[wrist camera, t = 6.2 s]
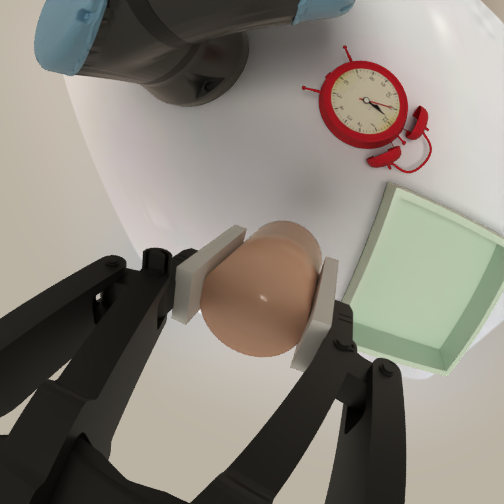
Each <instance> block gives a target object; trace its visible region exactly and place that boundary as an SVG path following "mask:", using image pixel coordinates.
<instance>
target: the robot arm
mask: <svg viewBox="0 0 504 504" xmlns="http://www.w3.org/2000/svg"><path fill="white" fill-rule="evenodd" d="M354 2H355V0H46V2H45V4H44V7H43V9H42V11H41V15H40V17H39V20H38V24H37V28H36V33H35V41H34V51H35V56H36V59H37V61H38V62H39V64H40V65H41V67H42V68H43V69H45V70H48V71H52V72H57V73H61V74H65V75H67V76H74V75H81V76H91V77H99V78H106V79H113V80H120V81H126V82H131V83H137V84H141V85H142V86H143V87H144V88H145V89H147V90H148V91H149V92H150V93H151V94H153V95H154V96H155V97H156V98H158V99H159V100H161V101H163V102H166V103H169V104H173V105H179V106H197V105H201V104H205V103H207V102H210V101H212V100H214V99H216V98H217V97H219V96H220V95H222V94H223V93H225V92H226V91H227V90H228V89H229V88H230V87H231V86H232V85H233V84H234V83H235V82H236V80H237V79H238V78H239V76H240V74H241V73H242V71H243V69H244V67H245V64H246V61H247V57H248V50H249V44H248V38H247V35H246V32H245V31H247V30H253V29H258V28H264V27H270V26H276V25H283V24H292V25H297V24H299V23H300V22H303V21H309V20H316V19H325V18H334V17H339V16H342V15H344V14H345V13H347V12H348V11H349V10H350V9H351V8H352V6H353V4H354ZM245 233H246V228H243V227H240V226H237V225H234V226H233V227H231V228H230V229H228V230H227V231H226V232H224V233H223V234H221V235H220V236H218V237H217V238H216V239H214V240H213V241H212V242H210V243H209V244H207V245H206V246H205V247H203V248H202V249H200V250H199V251H198V250H195V249H192V248H190V249H186V250H183V251H181V252H180V253H178V255H175V256H174V257H173V258H172V254H171V253H170V252H169V251H167V250H165V249H162V248H149V249H146V250H144V251H143V261H142V262H143V263H142V269H141V270H140V271H137V270H132V269H128V268H126V260H125V259H123V258H122V257H120V256H116V255H110V256H105V257H102V258H101V259H99V260H97V261H95V262H93V263H91V264H90V265H88V266H86V267H84V268H82V269H81V270H79V271H78V272H76V273H74V274H72V275H70V276H68V277H67V278H65V279H63V280H62V281H60V282H58V283H57V284H55V285H53V286H51V287H50V288H48V289H46V290H45V291H43V292H42V293H40V294H38V295H37V296H35V297H33V298H32V299H30V300H29V301H27V302H25V303H24V304H22V305H21V306H19V307H17V308H16V309H15V310H13V311H11V312H10V313H8V314H7V315H5V316H4V317H2V318H1V319H0V417H2V416H4V415H6V414H7V413H9V412H10V411H12V410H13V409H15V408H16V407H17V406H18V405H19V404H21V403H22V402H23V401H24V400H25V399H26V398H27V397H28V396H30V395H31V394H32V393H33V392H34V391H35V390H36V389H37V388H38V389H37V390H36V392H35V394H34V395H33V397H32V398H31V399H30V401H29V403H28V404H27V406H26V407H25V409H24V410H23V412H22V413H21V415H20V417H19V418H18V420H17V422H16V423H15V425H14V426H13V428H12V430H11V431H10V433H9V435H0V504H272V503H273V500H274V498H275V496H276V495H277V493H278V492H279V491H280V489H281V488H282V486H283V485H284V484H285V482H286V481H287V479H288V478H289V476H290V475H291V473H292V472H293V470H294V469H295V467H296V465H297V464H298V463H299V461H300V459H301V458H302V456H303V455H304V453H305V451H306V450H307V448H308V446H309V445H310V443H311V441H312V440H313V438H314V436H315V435H316V433H317V431H318V429H319V427H320V426H321V424H322V422H323V420H324V419H325V417H326V415H327V413H328V411H329V409H330V407H331V405H332V403H333V401H334V400H335V399H337V400H339V401H340V402H342V403H344V404H343V410H342V418H341V425H340V431H339V437H338V443H337V449H336V454H335V460H334V464H333V470H332V474H331V479H330V483H329V488H328V492H327V496H326V500H325V504H404V503H405V487H406V428H405V409H404V397H403V386H402V377H401V372H400V369H399V367H398V366H397V365H396V364H395V363H394V362H392V361H391V360H388V359H386V358H377V359H376V360H374V361H373V363H372V362H370V361H368V360H366V359H365V358H363V357H362V356H360V355H359V354H358V353H357V345H356V343H355V342H354V341H353V310H352V308H351V307H350V305H348V304H345V303H343V302H340V301H337V300H335V292H336V282H337V271H338V260H336V259H333V258H330V257H327V256H326V258H325V261H324V264H323V266H322V269H321V272H320V274H319V278H318V282H317V286H316V291H315V295H314V299H313V303H312V307H311V311H310V315H309V319H308V323H307V326H306V328H305V330H304V332H303V335H302V337H301V339H300V341H299V342H298V344H297V347H296V350H295V354H294V357H293V360H292V363H291V368H294V369H296V370H300V371H302V372H304V373H303V375H302V376H301V378H300V379H299V381H298V382H297V383H296V385H295V386H294V388H293V389H292V390H291V391H290V393H289V394H288V396H287V397H286V398H285V400H284V401H283V402H282V404H281V405H280V406H279V408H278V409H277V410H276V411H275V413H274V414H273V415H272V417H271V418H270V419H269V420H268V422H267V423H266V424H265V425H264V427H263V428H262V429H261V430H260V432H259V433H258V434H257V435H256V436H255V437H254V439H253V440H252V441H251V442H250V443H249V445H248V446H247V447H246V448H245V449H244V451H243V452H242V453H241V454H240V455H239V456H238V457H237V458H236V459H235V461H234V462H233V463H232V464H231V465H230V466H229V467H228V468H227V469H226V470H225V471H224V472H222V473H221V474H220V475H218V476H217V477H216V478H215V480H213V481H212V482H211V483H210V484H209V485H208V486H207V487H206V488H205V489H204V490H203V491H202V492H201V493H200V494H199V495H198V496H197V497H196V498H195V499H194V500H193V501H192V502H191V503H188V502H186V501H183V500H181V499H179V498H177V497H175V496H173V495H171V494H169V493H167V492H164V491H160V490H157V489H153V488H150V487H147V486H144V485H140V484H137V483H134V482H132V481H129V480H127V479H126V478H125V477H124V476H123V475H122V474H121V473H120V472H119V471H118V470H117V469H116V468H115V467H114V466H113V465H112V464H111V463H110V462H109V461H108V459H109V456H110V451H111V441H112V438H113V435H114V433H115V430H116V428H117V426H118V424H119V421H120V419H121V417H122V414H123V412H124V410H125V408H126V405H127V403H128V401H129V399H130V397H131V394H132V392H133V390H134V388H135V385H136V383H137V381H138V379H139V377H140V375H141V373H142V371H143V369H144V366H145V364H146V362H147V360H148V358H149V356H150V354H151V352H152V349H153V348H154V346H155V344H156V341H157V339H158V337H159V335H160V333H161V331H162V329H163V327H164V325H165V323H166V320H167V313H168V312H169V311H170V310H171V309H172V318H173V319H175V320H177V321H179V322H181V323H183V324H185V325H186V324H187V323H188V322H189V321H190V320H191V319H192V317H193V316H194V315H195V314H196V313H197V312H198V311H199V310H200V309H201V308H200V298H201V292H202V287H203V282H204V281H205V279H206V277H207V276H208V275H209V274H210V273H211V271H213V270H214V269H215V268H216V267H217V266H218V265H219V264H220V263H221V262H223V261H224V260H225V259H226V258H227V257H228V256H229V255H230V254H231V253H233V252H234V251H235V250H236V249H237V248H238V247H239V246H240V245H241V244H243V242H244V238H245ZM99 293H100V297H101V298H100V299H98V300H96V295H97V294H99ZM70 359H71V361H70V362H69V364H68V365H67V367H66V368H65V370H64V371H63V373H62V374H61V376H60V377H59V378H58V379H57V380H55V381H53V380H49V378H50V377H51V376H52V375H53V374H54V373H55V372H56V371H58V370H59V369H60V368H61V367H62V366H63V365H65V364H66V363H67V362H68V361H69V360H70ZM47 379H48V380H47Z"/></svg>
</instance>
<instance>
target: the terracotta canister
mask: <svg viewBox="0 0 504 504" xmlns="http://www.w3.org/2000/svg"><path fill="white" fill-rule="evenodd" d="M321 264H322V254H321V249H320V246H319V244H318V242H317V240H316V239H315V237H314V236H313V235H312V234H311V233H310V232H309V231H308V230H307V229H306V228H304V227H303V226H301V225H299V224H296V223H294V222H290V221H274V222H271V223H268V224H266V225H264V226H262V227H261V228H260V229H258V230H257V231H256V232H255V233H254V234H253V235H252V236H250V237H249V238H248V239H247V240H246V241H245V242H244V243H243V244H241V245H240V246H239V247H238V248H237V249H236V250H235V251H234V252H233V253H231V254H230V255H229V256H228V257H227V258H226V259H225V260H224V261H223V262H221V263H220V264H219V265H218V266H217V267H216V268H215V269H214V270H213V271H211V273H210V274H209V275H208V276H207V277H206V279H205V281H204V282H203V287H202V292H201V298H200V308H201V312H202V315H203V318H204V320H205V322H206V324H207V326H208V327H209V329H210V330H211V331H212V333H213V334H214V335H215V336H216V337H217V338H218V339H219V340H220V341H221V342H222V343H224V344H225V345H226V346H228V347H230V348H231V349H233V350H235V351H237V352H240V353H242V354H245V355H249V356H255V357H272V356H276V355H280V354H283V353H285V352H287V351H289V350H290V349H292V348H293V347H294V346H295V345H296V344H298V342H299V341H300V339H301V337H302V335H303V332H304V330H305V328H306V326H307V323H308V319H309V315H310V311H311V307H312V303H313V299H314V295H315V291H316V286H317V282H318V278H319V274H320V270H321Z"/></svg>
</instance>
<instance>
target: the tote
mask: <svg viewBox="0 0 504 504" xmlns="http://www.w3.org/2000/svg"><path fill="white" fill-rule="evenodd" d="M503 290H504V237H503V236H501V235H499V234H498V233H496V232H494V231H492V230H491V229H489V228H487V227H485V226H483V225H481V224H480V223H478V222H476V221H474V220H472V219H470V218H468V217H466V216H464V215H462V214H460V213H458V212H456V211H454V210H452V209H450V208H448V207H446V206H444V205H442V204H440V203H438V202H435V201H433V200H431V199H429V198H427V197H424V196H422V195H420V194H417V193H415V192H413V191H410V190H408V189H406V188H403V187H401V186H398V185H396V184H393V183H391V182H388V183H387V186H386V189H385V192H384V195H383V198H382V201H381V204H380V207H379V210H378V213H377V216H376V218H375V221H374V224H373V227H372V229H371V232H370V235H369V237H368V240H367V242H366V245H365V248H364V250H363V253H362V255H361V258H360V260H359V262H358V265H357V267H356V270H355V272H354V274H353V277H352V279H351V281H350V284H349V286H348V288H347V291H346V293H345V295H344V297H343V299H342V302H343V303H345V304H348V305H350V307H351V308H352V310H353V341H354V342H355V343H356V345H357V351H359V352H362V353H366V354H369V355H372V356H375V357H379V358H386V359H388V360H391V361H392V362H395V363H399V364H402V365H406V366H409V367H413V368H417V369H420V370H424V371H428V372H432V373H435V374H439V375H443V376H448V375H449V373H450V372H451V371H452V369H453V368H454V367H455V366H456V364H457V363H458V362H459V360H460V359H461V358H462V356H463V355H464V354H465V352H466V351H467V349H468V348H469V346H470V345H471V344H472V342H473V341H474V339H475V338H476V336H477V335H478V333H479V332H480V330H481V328H482V327H483V325H484V324H485V322H486V320H487V319H488V317H489V315H490V314H491V312H492V310H493V308H494V307H495V305H496V303H497V301H498V300H499V298H500V296H501V294H502V292H503Z"/></svg>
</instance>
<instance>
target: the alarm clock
mask: <svg viewBox="0 0 504 504" xmlns="http://www.w3.org/2000/svg"><path fill="white" fill-rule="evenodd" d="M343 48H344V49H345V51H346V53H347V56H348V58H349V61H350V62H348V63H345V64H343V65H341V66H339V67H337V68H336V69H335V70H334V71H332V73H331V72H330V73H329V74H328V75H327V76H326V77H325V78H326V80H325V81H324V83H323V85H322V87H321V90H316V89H310V88H306V87H305V86H302V89H303V90H305V89H307V90H311V91H313V92H317V93H320V94H319V109H320V113H321V116H322V118H323V121H324V122H325V124H326V126H327V127H328V129H329V130H330V131H331V132H332V133H333V134H334V135H335V136H336V137H337V138H338V139H340V140H341V141H343V142H345V143H346V144H349V145H351V146H354V147H358V148H364V149H373V148H378V147H382V146H385V145H387V144H389V143H392V141H393V140H394V139H396V138H397V137H398V138H399V139H400V140H401V141H402V142H403V143H402V144H403V145H405V144H406V141H403V140H402V139H401V138H400V137H399V134H400V133H401V132H402V130H403V129H404V125H405V122H406V118H407V112H408V101H407V96H406V93H405V91H404V88H403V86H402V85H401V83H400V82H399V80H398V79H397V78H396V77H395V76H394V75H393V74H392V73H391V72H390V71H389V70H387V69H386V68H384V67H382V66H380V65H378V64H376V63H372V62H368V61H352V59H351V56H350V55H349V53H348V51H347V49H346V48H347V46H343ZM413 117H415V118H416V119H417V123H416V126H415V128H414V130H413V131H412V132H409V131H407V130H406V129H404V130H406V137H407V138H409V139H411V140H416V139H418V138H419V137H420V136H421V135H422V133H423V135H424V137H425V138H426V140H427V141H428V143H429V147H430V152H429V154H428V157H427V158H426V160H425V161H424V162H423V163H422V164H421V165H420V166H419V167H418V168H416V169H414V170H412V171H406V170H403V169H401V168H399V167H398V166H397V165H395V164H394V163H393V162H394V161H396V160H397V159H399V157H400V156H401V149H400V146H396V147H394V146H393V144H392V146H393V148H390V149H388V151H389V152H386V153H384V154H382V155H379V156H377V157H373V156H372V157H370V158H368V159H366V160H367V162H368V164H369V165H370V166H371V167H375V168H378V167H383V166H386V165H387V166H388V168H389V170H390V169H391V166H390V165H394V166H395V167H396V168H397V169H399V170H400V171H402V172H405V173H413V172H416V171H417V170H419V169H420V168H421V167H422V166H424V165H425V163H426V162H427V161H428V159H429V157H430V156H431V152H432V147H431V143H430V141H429V139H428V138H427V136H426V135H425V133H424V130H427V131H429V129H428V128H427V127H426V125H427V121H428V112H427V111H426V109H424V108H423V107H422V106H419V107H418V108H417V109H416V110H415V112H414V114H413Z"/></svg>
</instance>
